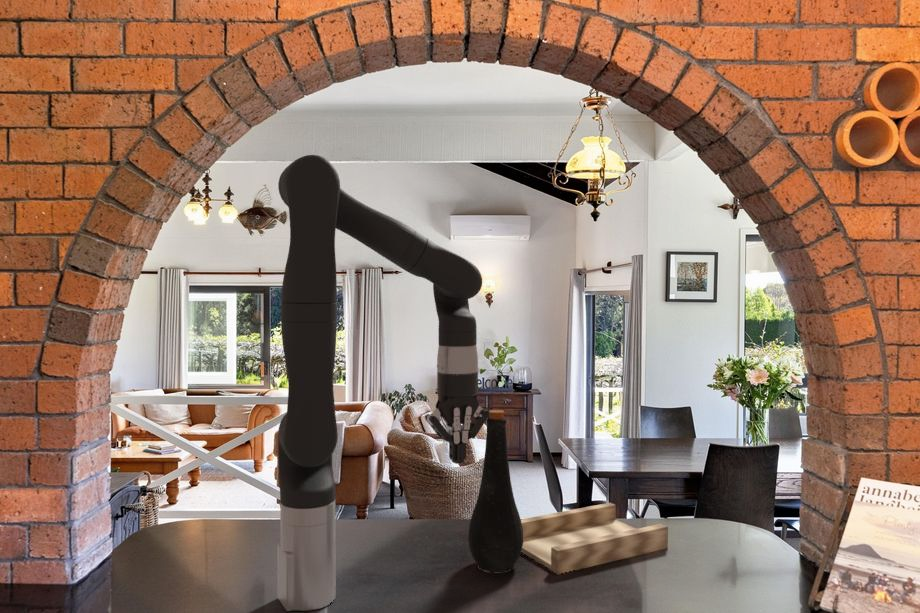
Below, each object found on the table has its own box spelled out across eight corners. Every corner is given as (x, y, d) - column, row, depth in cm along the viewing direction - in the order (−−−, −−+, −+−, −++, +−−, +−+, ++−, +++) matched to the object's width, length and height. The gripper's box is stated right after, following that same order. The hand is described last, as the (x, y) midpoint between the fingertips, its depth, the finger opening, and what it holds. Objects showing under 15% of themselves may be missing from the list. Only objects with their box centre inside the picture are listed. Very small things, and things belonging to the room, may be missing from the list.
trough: (557, 574, 137) (557, 551, 137) (505, 543, 153) (505, 522, 152) (667, 548, 150) (668, 526, 150) (609, 522, 166) (609, 502, 166)
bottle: (511, 581, 134) (512, 418, 133) (459, 571, 138) (459, 413, 137) (530, 560, 143) (532, 408, 142) (481, 552, 148) (481, 404, 147)
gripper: (434, 374, 129) (435, 472, 129) (498, 369, 135) (498, 462, 136) (416, 369, 135) (416, 462, 136) (478, 365, 142) (478, 453, 142)
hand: (457, 462), depth 136 cm, fingers closed
